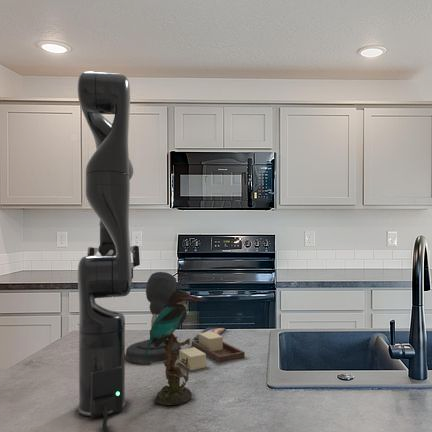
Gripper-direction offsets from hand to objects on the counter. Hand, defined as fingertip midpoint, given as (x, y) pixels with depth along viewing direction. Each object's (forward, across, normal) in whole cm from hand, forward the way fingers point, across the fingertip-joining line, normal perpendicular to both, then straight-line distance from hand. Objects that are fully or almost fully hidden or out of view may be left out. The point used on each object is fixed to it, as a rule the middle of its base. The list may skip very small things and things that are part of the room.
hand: (113, 282), depth 130 cm
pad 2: (+22, +27, -7) cm, 36 cm away
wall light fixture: (+23, +12, 0) cm, 26 cm away
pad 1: (+23, +16, -18) cm, 33 cm away
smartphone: (+22, +35, +8) cm, 42 cm away
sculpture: (+23, +4, -37) cm, 44 cm away
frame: (+23, +27, -11) cm, 37 cm away
